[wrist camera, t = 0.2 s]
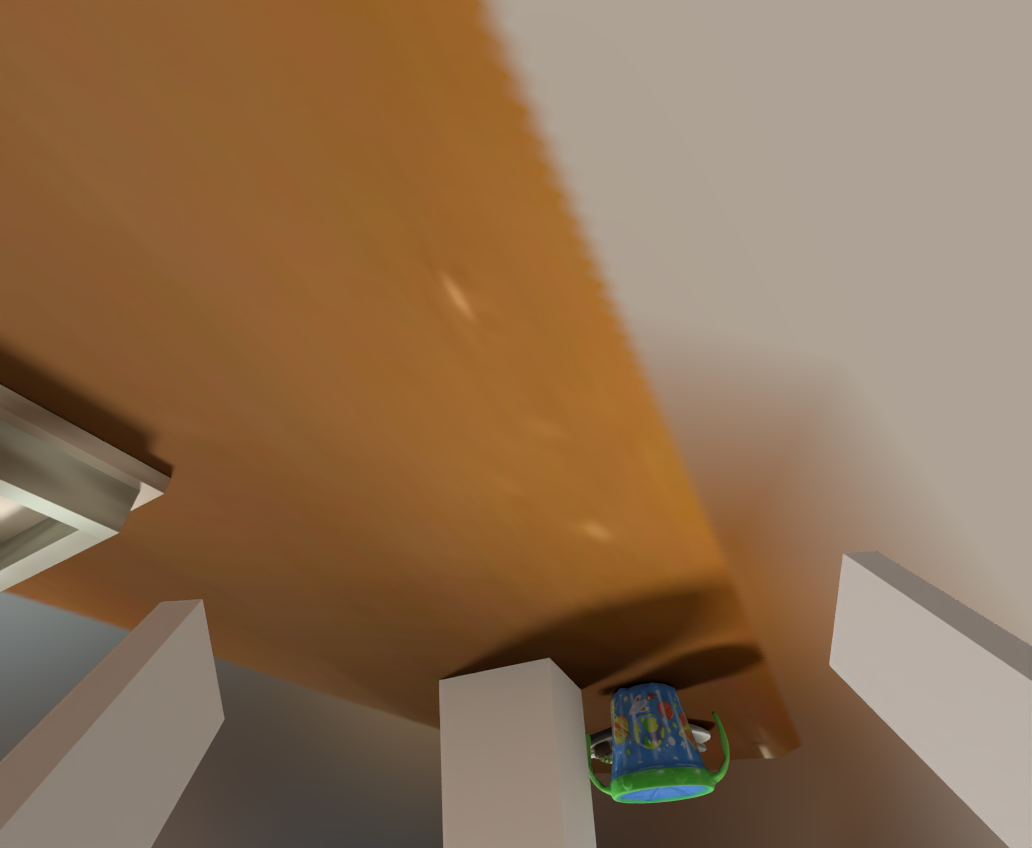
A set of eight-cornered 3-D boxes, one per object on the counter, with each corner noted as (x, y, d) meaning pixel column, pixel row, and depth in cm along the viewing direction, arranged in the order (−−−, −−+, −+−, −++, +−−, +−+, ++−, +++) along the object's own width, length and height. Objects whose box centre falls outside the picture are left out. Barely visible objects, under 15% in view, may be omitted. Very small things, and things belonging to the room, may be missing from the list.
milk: (549, 657, 53) (593, 1067, 35) (580, 689, 61) (629, 1035, 43) (439, 680, 55) (427, 1072, 37) (483, 708, 63) (491, 1041, 46)
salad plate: (743, 722, 78) (755, 759, 75) (655, 751, 88) (662, 784, 85) (648, 709, 69) (657, 749, 66) (563, 742, 80) (567, 779, 77)
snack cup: (583, 712, 67) (597, 811, 60) (567, 687, 60) (581, 797, 53) (709, 693, 65) (739, 794, 58) (709, 665, 57) (743, 777, 51)
